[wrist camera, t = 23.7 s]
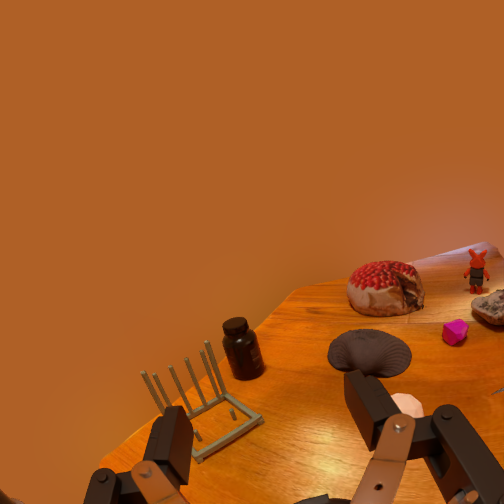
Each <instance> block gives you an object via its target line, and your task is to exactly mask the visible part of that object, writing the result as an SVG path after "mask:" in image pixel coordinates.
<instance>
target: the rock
mask: <svg viewBox="0 0 504 504" xmlns="http://www.w3.org/2000/svg"><path fill="white" fill-rule="evenodd" d="M471 307H472V309H473V310H474V311H475V312H476V313H477V314H478V315H479V316H480V317H481V318H484V319H485V320H486V321H487V322H489V323H490V324H496V325H503V324H504V289H503V290H496V291H495V292H493V293H491V294H490V295H489V296H487V297H477V298H475V299H474V300H473V301H472V303H471Z"/></svg>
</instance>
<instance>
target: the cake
mask: <svg viewBox="0 0 504 504" xmlns="http://www.w3.org/2000/svg"><path fill="white" fill-rule="evenodd" d="M423 294H424V295H425V292H424V290H423V288H422V283H421V279H420V276H419V274H418V272H417V271H416V269H415V268H414V267H413V266H411V265H408V264H405V263H402V262H398V261H380V262H372V263H369V264H366V265H364V266H362V267H360V268H358V269H357V270H356V271H355V272H354V273H353V274H352V275H351V277H350V278H349V282H348V286H347V296H348V298H349V300H350V303H351V304H352V306H353V307H354V309H355V311H357V312H359V313H361V314H365V315H371V316H376V317H379V316H393V315H402V314H407V313H409V312H413V311H416V310H417V309H419V308H421V307H422V309H423V307H424V305H423V296H424V295H423ZM394 313H397V314H394Z"/></svg>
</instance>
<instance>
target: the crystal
mask: <svg viewBox="0 0 504 504" xmlns="http://www.w3.org/2000/svg"><path fill="white" fill-rule="evenodd" d="M468 328H469V326H468V325H467V324H466V323H465V322H464V321H463V320H461V319H457V320H454V321H452V322H449V323H446V324H444V326H443V333H442V337H443V339H444V340H445V341H446V342H447V343H448V344H449V345H454V344H455V343H457V342H459V341H460V340H462V339H463V338H465V337H466V336H467V333H468Z"/></svg>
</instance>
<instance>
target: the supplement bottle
mask: <svg viewBox="0 0 504 504" xmlns="http://www.w3.org/2000/svg"><path fill="white" fill-rule="evenodd" d="M222 327H223V330H224V334H225V336H224V338H223V341H222V343H223V347H224V350H225V353H226V356H227V359H228V362H229V365H230V367H231V370H232V373H233V375H234V376H235V377H236V378H238V379H240V380H250V379H253V378H256V377H257V376H259V375H260V374H261V373H262V372H263V370H264V362H263V359H262V355H261V351H260V348H259V344H258V340H257V337H256V334H255V332H254V331H253V330H251V329H249V326H248V324H247V320H246V319H245V318H244V317H235V318H231V319H229V320H227V321H225V322H224V323H223V326H222Z"/></svg>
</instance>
